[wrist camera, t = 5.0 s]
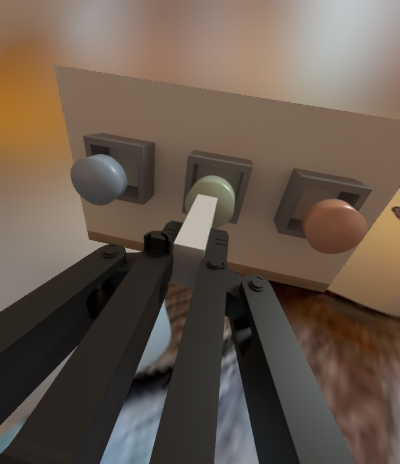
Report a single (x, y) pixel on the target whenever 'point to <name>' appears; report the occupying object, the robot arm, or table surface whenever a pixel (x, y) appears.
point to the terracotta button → (333, 226)
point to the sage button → (216, 189)
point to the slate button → (98, 179)
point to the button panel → (229, 166)
